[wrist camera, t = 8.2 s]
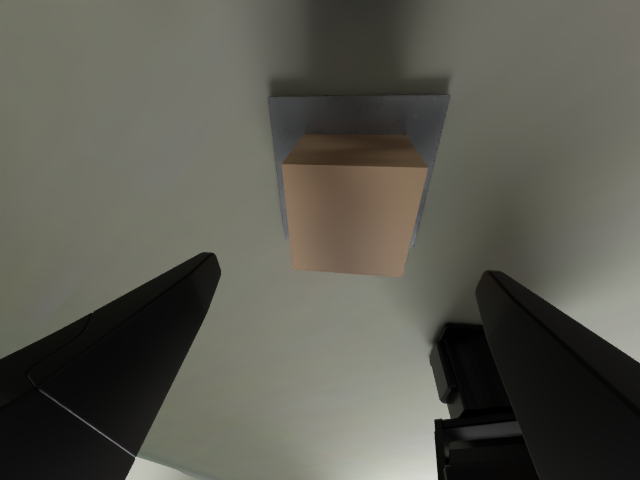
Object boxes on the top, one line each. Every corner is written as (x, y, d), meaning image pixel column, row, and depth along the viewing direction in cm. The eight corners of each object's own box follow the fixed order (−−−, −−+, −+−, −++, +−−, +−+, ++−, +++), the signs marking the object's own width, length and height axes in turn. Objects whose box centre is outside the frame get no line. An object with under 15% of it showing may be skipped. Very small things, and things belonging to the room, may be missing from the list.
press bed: (448, 94, 12) (450, 95, 12) (412, 243, 18) (413, 246, 17) (269, 96, 13) (267, 97, 13) (286, 236, 19) (285, 239, 18)
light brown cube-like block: (407, 135, 13) (428, 167, 9) (391, 224, 16) (402, 277, 12) (304, 133, 14) (281, 164, 10) (308, 219, 17) (292, 269, 13)
